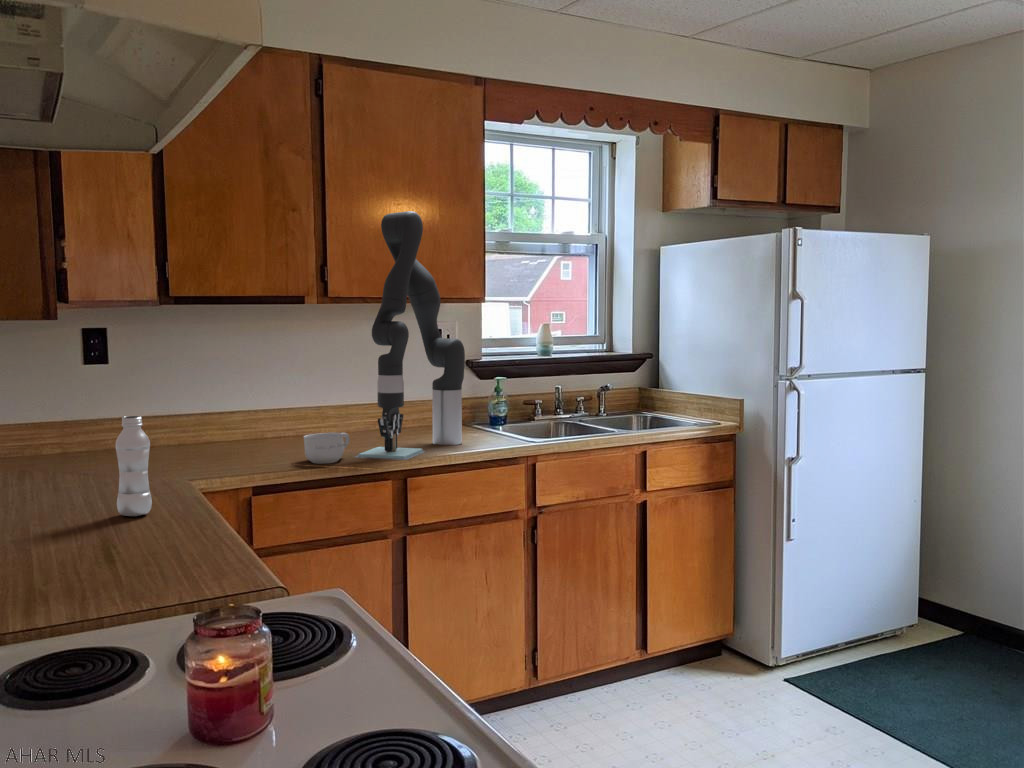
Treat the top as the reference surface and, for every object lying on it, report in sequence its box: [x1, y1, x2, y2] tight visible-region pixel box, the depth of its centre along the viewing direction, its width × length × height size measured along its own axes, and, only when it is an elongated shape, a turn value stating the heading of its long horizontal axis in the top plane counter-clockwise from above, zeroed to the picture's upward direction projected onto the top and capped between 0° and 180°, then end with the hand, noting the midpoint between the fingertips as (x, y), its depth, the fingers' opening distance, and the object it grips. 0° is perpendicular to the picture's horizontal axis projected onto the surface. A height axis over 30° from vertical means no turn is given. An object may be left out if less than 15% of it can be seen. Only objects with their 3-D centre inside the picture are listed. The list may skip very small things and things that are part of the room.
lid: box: [357, 434, 424, 460], centre depth 245 cm, size 14×14×6 cm
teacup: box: [302, 432, 351, 465], centre depth 233 cm, size 14×11×8 cm
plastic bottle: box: [114, 415, 153, 517], centre depth 169 cm, size 6×7×20 cm
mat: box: [354, 450, 427, 461], centre depth 245 cm, size 16×16×1 cm
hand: (391, 449), depth 245 cm, fingers closed on lid, 2 cm apart
